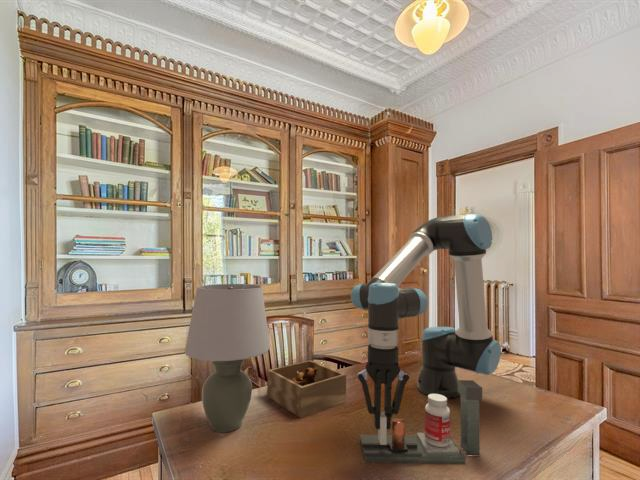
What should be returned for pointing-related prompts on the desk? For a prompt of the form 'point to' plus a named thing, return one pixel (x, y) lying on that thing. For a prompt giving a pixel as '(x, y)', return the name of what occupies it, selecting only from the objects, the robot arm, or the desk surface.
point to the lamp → (227, 347)
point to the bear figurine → (305, 377)
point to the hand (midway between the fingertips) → (382, 441)
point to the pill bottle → (437, 421)
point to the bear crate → (306, 388)
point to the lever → (398, 436)
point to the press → (426, 452)
